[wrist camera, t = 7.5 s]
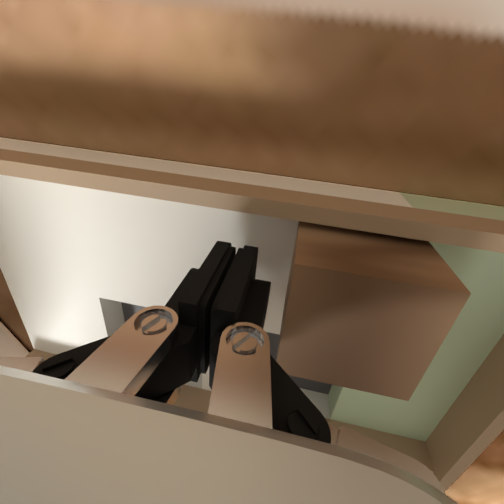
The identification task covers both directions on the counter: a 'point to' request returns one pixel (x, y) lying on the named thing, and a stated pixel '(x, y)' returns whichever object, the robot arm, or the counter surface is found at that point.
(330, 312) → the walnut block
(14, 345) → the milk carton
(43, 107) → the counter surface
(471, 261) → the board
